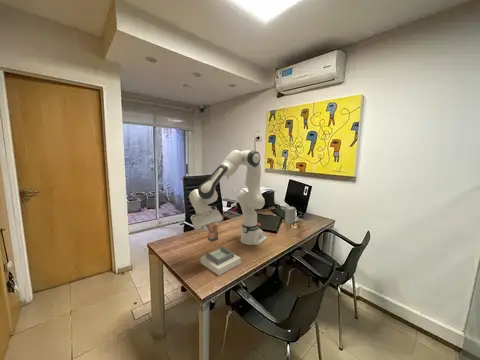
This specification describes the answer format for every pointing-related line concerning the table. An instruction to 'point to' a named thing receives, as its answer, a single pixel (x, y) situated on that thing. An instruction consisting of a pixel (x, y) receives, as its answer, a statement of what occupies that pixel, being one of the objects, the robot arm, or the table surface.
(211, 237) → the block
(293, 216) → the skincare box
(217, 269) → the bay dock
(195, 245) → the table surface
